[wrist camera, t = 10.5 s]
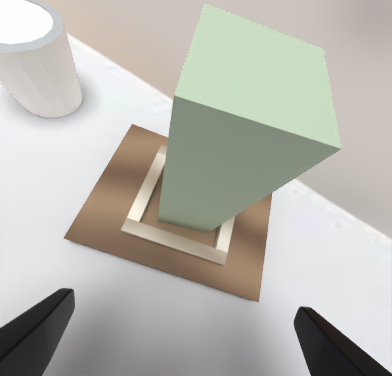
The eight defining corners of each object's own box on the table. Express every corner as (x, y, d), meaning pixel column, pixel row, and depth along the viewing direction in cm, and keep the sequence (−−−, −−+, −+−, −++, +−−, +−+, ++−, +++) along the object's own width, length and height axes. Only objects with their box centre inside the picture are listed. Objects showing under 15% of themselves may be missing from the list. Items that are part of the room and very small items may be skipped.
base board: (251, 300, 16) (265, 304, 14) (69, 240, 15) (57, 236, 13) (267, 183, 22) (279, 174, 20) (133, 131, 20) (131, 116, 18)
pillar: (207, 233, 17) (342, 148, 5) (157, 221, 16) (174, 95, 4) (214, 187, 19) (323, 49, 7) (169, 175, 18) (204, 3, 6)
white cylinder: (66, 66, 22) (33, -15, 16) (102, 105, 21) (81, 35, 15) (-1, 87, 19) (-76, -2, 13) (36, 134, 18) (-25, 62, 12)
